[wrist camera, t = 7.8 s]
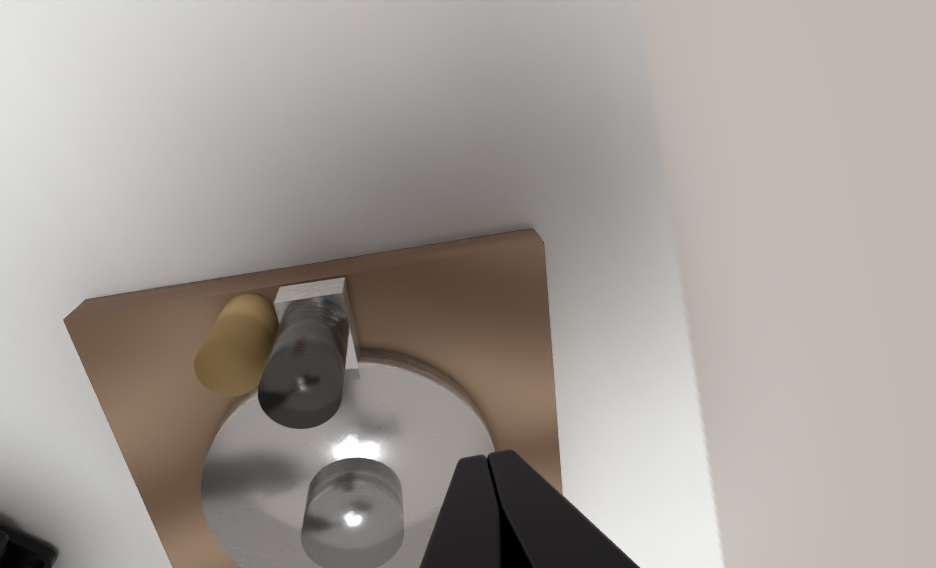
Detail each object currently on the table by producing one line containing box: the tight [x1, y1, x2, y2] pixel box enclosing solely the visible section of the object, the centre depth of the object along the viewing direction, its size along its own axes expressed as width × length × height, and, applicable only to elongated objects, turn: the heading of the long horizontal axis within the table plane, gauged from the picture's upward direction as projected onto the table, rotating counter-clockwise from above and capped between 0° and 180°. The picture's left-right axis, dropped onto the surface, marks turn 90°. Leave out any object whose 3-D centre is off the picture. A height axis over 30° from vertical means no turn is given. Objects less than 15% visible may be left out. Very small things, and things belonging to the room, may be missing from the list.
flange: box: [201, 277, 495, 568], centre depth 19 cm, size 12×10×5 cm
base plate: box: [63, 229, 563, 568], centre depth 21 cm, size 15×15×4 cm
